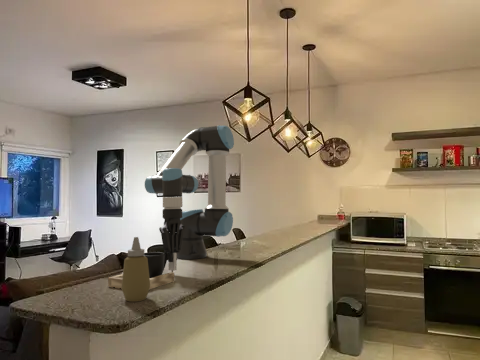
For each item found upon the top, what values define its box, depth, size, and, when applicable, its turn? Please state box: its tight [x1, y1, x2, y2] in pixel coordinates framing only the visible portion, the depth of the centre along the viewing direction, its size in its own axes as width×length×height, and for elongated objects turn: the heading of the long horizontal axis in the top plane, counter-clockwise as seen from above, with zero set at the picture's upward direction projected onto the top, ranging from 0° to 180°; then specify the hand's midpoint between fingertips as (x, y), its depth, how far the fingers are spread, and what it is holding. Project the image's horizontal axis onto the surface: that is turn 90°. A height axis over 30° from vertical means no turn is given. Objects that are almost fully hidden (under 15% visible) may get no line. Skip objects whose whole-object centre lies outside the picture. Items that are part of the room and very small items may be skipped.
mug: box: [143, 251, 168, 278], centre depth 131 cm, size 8×12×10 cm
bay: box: [107, 271, 175, 290], centre depth 125 cm, size 16×15×3 cm
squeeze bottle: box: [121, 236, 150, 303], centre depth 106 cm, size 8×8×18 cm
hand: (172, 269), depth 139 cm, fingers closed
